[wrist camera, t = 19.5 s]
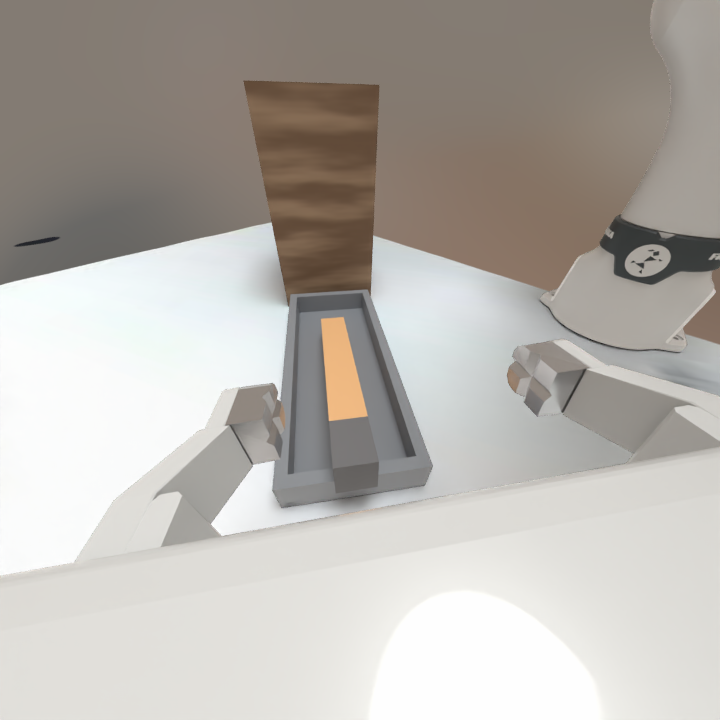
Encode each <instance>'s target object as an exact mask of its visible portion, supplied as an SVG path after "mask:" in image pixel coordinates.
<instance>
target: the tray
mask: <svg viewBox="0 0 720 720" xmlns="http://www.w3.org/2000/svg"><path fill="white" fill-rule="evenodd" d="M337 317H344V321H345V325H346V329H347V333H348V337H349V341H350V345H351V349H352V354H353V358H354V362H355V366H356V370H357V374H358V378H359V382H360V386H361V390H362V394H363V398H364V402H365V407H366V411H367V415H368V419H369V423H370V427H371V431H372V435H373V439H374V443H375V447H376V451H377V455H378V460H379V472H378V487H374V488H368V489H361V490H355V491H349V492H343V493H336V492H335V483H334V475H333V466H332V453H331V440H330V427H329V415H328V402H327V389H326V376H325V364H324V351H323V338H322V325H321V319H324V318H337ZM281 402H282V405H283V408H284V412H285V430H284V431H283V432H282V433H281V438H282V440H283V444H282V451H281V458H280V460H275V468H274V479H273V490H272V491H273V492H274V494H275V496H276V498H277V500H278V502H279V504H280V505H281V507H282V508H284V507H291V506H297V505H303V504H310V503H316V502H322V501H329V500H335V499H341V498H348V497H354V496H360V495H367V494H373V493H379V492H386V491H392V490H398V489H405V488H411V487H417V486H424V485H425V484H426V481H427V479H428V477H429V474H430V472H431V470H432V467H433V465H432V463H431V460H430V457H429V454H428V452H427V449H426V446H425V444H424V441H423V438H422V435H421V433H420V430H419V427H418V425H417V422H416V419H415V416H414V414H413V411H412V408H411V406H410V403H409V400H408V397H407V395H406V392H405V389H404V387H403V384H402V381H401V378H400V376H399V373H398V370H397V368H396V365H395V362H394V359H393V357H392V354H391V351H390V349H389V346H388V343H387V340H386V338H385V335H384V332H383V330H382V327H381V324H380V321H379V319H378V316H377V313H376V311H375V308H374V305H373V302H372V300H371V297H370V294H369V292H368V290H352V291H336V292H320V293H304V294H290V304H289V315H288V326H287V337H286V348H285V359H284V370H283V381H282V392H281Z"/></svg>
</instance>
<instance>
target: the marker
mask: <svg viewBox="0 0 720 720" xmlns="http://www.w3.org/2000/svg"><path fill="white" fill-rule="evenodd" d="M321 325H322V338H323V351H324V364H325V376H326V389H327V402H328V415H329V427H330V440H331V453H332V466H333V475H334V483H335V492H336V493H343V492H349V491H355V490H361V489H368V488H374V487H378V472H379V460H378V455H377V451H376V447H375V443H374V439H373V435H372V431H371V427H370V423H369V419H368V415H367V411H366V407H365V402H364V398H363V394H362V390H361V386H360V382H359V378H358V374H357V370H356V366H355V362H354V358H353V354H352V349H351V345H350V341H349V337H348V333H347V329H346V325H345V321H344V317H337V318H324V319H321Z"/></svg>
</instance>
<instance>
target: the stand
mask: <svg viewBox="0 0 720 720" xmlns="http://www.w3.org/2000/svg"><path fill="white" fill-rule="evenodd" d="M244 85H245V90H246V95H247V101H248V106H249V110H250V115H251V121H252V125H253V130H254V135H255V141H256V145H257V151H258V155H259V161H260V166H261V170H262V176H263V181H264V186H265V191H266V196H267V201H268V206H269V211H270V216H271V221H272V226H273V231H274V236H275V241H276V246H277V251H278V256H279V261H280V266H281V271H282V276H283V281H284V286H285V291H286V296H287V301H288V306H289V304H290V294H304V293H320V292H336V291H352V290H368V292H369V294H370V296H371V272H372V248H373V224H374V200H375V175H376V174H375V173H376V150H377V128H378V127H377V126H378V103H379V85H365V84H333V83H303V82H271V81H270V82H269V81H244Z"/></svg>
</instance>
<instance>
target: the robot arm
mask: <svg viewBox="0 0 720 720" xmlns="http://www.w3.org/2000/svg"><path fill="white" fill-rule="evenodd" d="M650 31H651V37H652V41H653V44H654V46H655V48H656V49H657V51H658V52H659V54H660V55H661V56H662V58H663V61H664V63H665V65H666V68H667V70H668V74H669V79H670V85H671V104H670V112H669V118H668V122H667V126H666V129H665V132H664V135H663V138H662V141H661V143H660V145H659V148H658V150H657V152H656V154H655V156H654V158H653V159H652V161H651V164H650V165H649V167H648V170H647V171H646V173H645V175H644V177H643V178H642V180H641V182H640V184H639V186H638V187H637V189H636V191H635V193H634V194H633V196H632V198H631V199H630V201H629V203H628V204H627V206H626V208H625V209H624V211H623V212H622V214H620V215H618V216H616V217H615V219H614V220H613V222H612V223H611V225H609V227H608V228H607V230H606V231H605V234H604V236H603V238H602V239H601V241H600V246H599V247H597V248H596V249H594V250H592V251H590V252H587V253H585V254H584V255H580V256H579V257H578V258H577V260H576V261H575V263H574V264H573V266H572V267H571V269H570V270H569V272H568V274H567V275H566V277H565V278H564V280H563V282H562V283H561V285H560V286H559V288H557V289H554V290H552V291H549V292H546V293H544V294H543V295H542V296H541V298H540V300H541V301H542V302H543V303H544V304H545V305H546V306H548V307H549V308H550V310H551V311H552V313H553V315H554V316H555V318H556V319H557V320H558V321H559V322H561V323H562V324H563V325H565V326H566V327H568V328H569V329H571V330H573V331H574V332H576V333H578V334H580V335H582V336H585V337H587V338H589V339H592V340H595V341H598V342H601V343H604V344H607V345H611V346H615V347H620V348H626V349H636V350H645V349H661V350H667V351H674V352H681V351H683V349H684V348H685V347H686V346H687V342H686V338H685V334H684V330H683V327H684V326H685V324H687V323H688V321H689V320H690V319H691V318H692V317H693V316H694V315H695V314H696V313H697V312H698V311H699V310H700V309H701V308H702V307H703V306H704V305H705V304H706V302H708V301H709V299H710V298H711V297H712V296H713V295H714V294H715V292H716V291H715V289H714V284H713V282H712V278H711V275H712V271H713V270H715V269H718V268H719V267H720V0H654V1H653V5H652V11H651V19H650ZM512 357H513V359H514V360H515V362H514V363H513V364H512V365H511V366H510V367H509V369H508V373H507V377H508V383H509V385H510V387H511V388H512V390H513V391H514V392H515V393H517V394H519V395H521V396H523V397H524V403H525V404H526V405H527V406H528V407H529V408H530V409H531V410H532V411H533V413H534V414H535V415H536V416H537V417H539V416H546V415H553V414H561V413H563V415H565V416H566V417H568V418H570V419H572V420H574V421H575V422H577V423H579V424H581V425H583V426H584V427H586V428H588V429H590V430H592V431H594V432H595V433H597V434H599V435H601V436H603V437H604V438H606V439H608V440H610V441H612V442H613V443H615V444H617V445H619V446H621V447H623V448H624V449H626V450H628V451H630V452H632V453H633V455H632V457H631V458H630V459H629V460H628V461H627V462H626V463H625V464H620V465H614V466H609V467H603V468H597V469H592V470H586V471H581V472H575V473H570V474H564V475H558V476H553V477H547V478H542V479H536V480H531V481H525V482H519V483H514V484H508V485H503V486H497V487H492V488H486V489H481V490H475V491H470V492H464V493H458V494H453V495H447V496H442V497H436V498H431V499H425V500H420V501H414V502H409V503H403V504H398V505H392V506H387V507H381V508H375V509H370V510H364V511H359V512H353V513H348V514H342V515H337V516H331V517H325V518H320V519H314V520H309V521H303V522H298V523H292V524H286V525H281V526H275V527H270V528H264V529H259V530H253V531H248V532H242V533H236V534H231V535H225V536H221V535H220V534H219V533H218V532H217V530H216V529H215V528H214V527H213V526H212V525H211V523H212V522H213V520H214V519H215V517H216V516H217V515H218V513H219V512H220V511H221V509H222V508H223V506H224V505H225V504H226V502H227V501H228V500H229V498H230V497H231V496H232V494H233V493H234V491H235V490H236V489H237V487H238V486H239V485H240V483H241V482H242V480H243V479H244V478H245V476H246V475H247V474H248V472H249V471H250V470H251V468H252V467H253V466H252V465H254V464H259V463H264V462H270V461H275V460H280V458H281V451H282V444H283V440H282V438H281V433H282V432H283V431H284V430H285V412H284V408H283V405H282V402H280V401H279V400H277V395H278V391H277V389H276V387H275V385H274V384H273V383H269V384H261V385H254V386H246V387H241V388H232V389H225V390H224V391H222V393H221V395H220V397H219V399H218V401H217V404H216V406H215V408H214V410H213V412H212V414H211V417H210V419H209V421H208V423H207V425H206V427H205V429H203V430H199V431H198V432H196V433H195V434H194V435H193V436H192V437H190V438H189V439H188V440H187V441H186V442H184V443H183V444H182V445H181V446H179V447H178V448H177V449H176V450H175V451H173V452H172V453H171V454H170V455H168V456H167V457H166V458H165V459H164V460H162V461H161V462H160V463H159V464H158V465H156V466H155V467H154V468H153V469H151V470H150V471H149V472H148V473H147V474H145V475H144V476H143V477H142V478H140V479H139V480H138V481H137V482H136V483H134V484H133V485H132V486H131V487H130V488H128V489H127V490H126V491H125V492H123V493H122V494H121V495H120V496H119V497H117V498H116V499H115V500H114V501H113V502H112V504H111V505H110V507H109V508H108V510H107V512H106V513H105V515H104V516H103V518H102V519H101V521H100V523H99V524H98V526H97V527H96V529H95V530H94V532H93V533H92V535H91V537H90V538H89V540H88V541H87V543H86V544H85V546H84V548H83V549H82V551H81V552H80V554H79V555H78V557H77V558H76V560H75V562H74V563H69V564H63V565H58V566H52V567H47V568H41V569H35V570H30V571H24V572H19V573H13V574H7V575H2V576H0V720H720V396H718V395H715V394H711V393H708V392H704V391H701V390H697V389H694V388H690V387H687V386H683V385H680V384H676V383H673V382H670V381H666V380H663V379H659V378H656V377H652V376H649V375H645V374H642V373H638V372H635V371H631V370H628V369H625V368H621V367H618V366H614V365H609V366H607V365H606V364H604V363H603V362H601V361H600V360H598V359H597V358H595V357H593V356H592V355H590V354H589V353H587V352H586V351H584V350H583V349H581V348H579V347H578V346H576V345H575V344H573V343H572V342H570V341H569V340H565V339H558V340H552V341H547V342H543V343H536V344H530V345H524V346H518V347H517V348H516V349H515V350H514V353H513V356H512Z"/></svg>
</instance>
